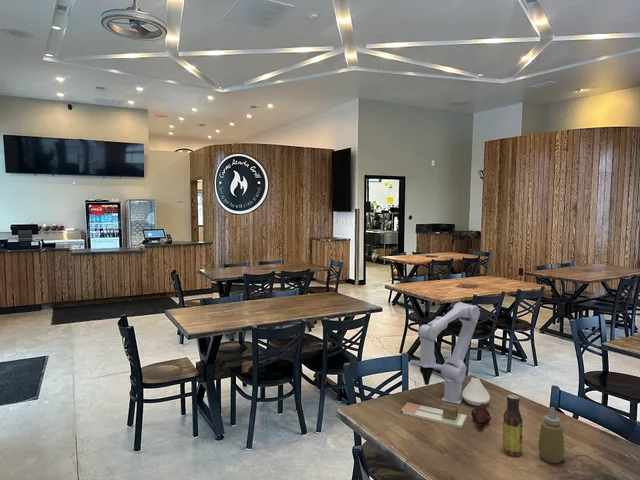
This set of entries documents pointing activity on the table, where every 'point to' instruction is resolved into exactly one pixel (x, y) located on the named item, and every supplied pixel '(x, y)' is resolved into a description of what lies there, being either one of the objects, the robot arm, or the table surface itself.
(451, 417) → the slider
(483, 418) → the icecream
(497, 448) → the table surface
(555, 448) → the squeeze bottle
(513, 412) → the sauce bottle
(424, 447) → the table surface
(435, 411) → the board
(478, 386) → the spoon rest
